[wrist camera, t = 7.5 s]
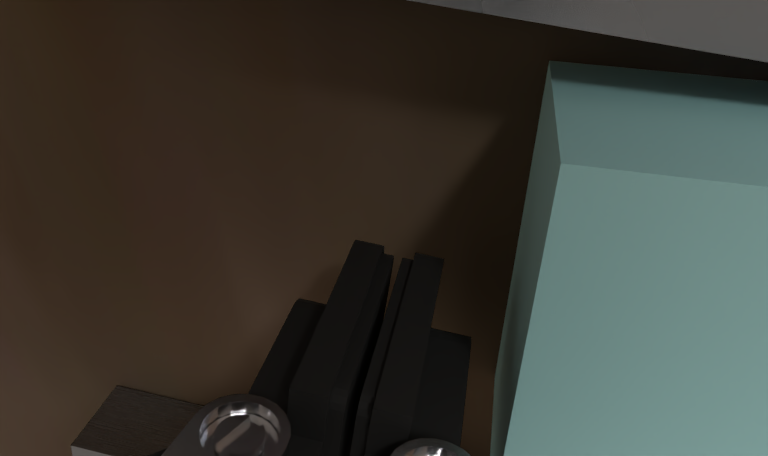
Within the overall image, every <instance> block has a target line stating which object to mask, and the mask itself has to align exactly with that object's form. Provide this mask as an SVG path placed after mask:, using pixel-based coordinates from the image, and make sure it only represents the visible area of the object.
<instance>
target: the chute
mask: <svg viewBox="0 0 768 456" xmlns="http://www.w3.org/2000/svg"><path fill="white" fill-rule="evenodd" d="M408 1H414V2H420V3H426V4H432V5H438V6H443V7H449V8H455V9H461V10H467V11H472V12H478V13H484V14H490V15H496V16H501V17H507V18H513V19H519V20H525V21H530V22H536V23H542V24H548V25H554V26H559V27H565V28H571V29H577V30H583V31H589V32H594V33H600V34H606V35H612V36H618V37H623V38H629V39H635V40H641V41H647V42H652V43H658V44H664V45H670V46H676V47H681V48H687V49H693V50H699V51H705V52H710V53H716V54H722V55H728V56H734V57H740V58H745V59H751V60H757V61H763V62H768V0H408ZM203 407H204V406H200V405H196V404H192V403H188V402H184V401H179V400H175V399H171V398H167V397H163V396H158V395H154V394H150V393H146V392H142V391H137V390H133V389H129V388H125V387H121V386H116V387H115V388H114V390H113V391H112V392H111V394H110V395H109V396H108V398H107V399H106V400H105V401H104V403H103V404H102V405H101V407H100V408H99V409H98V411H97V412H96V413H95V415H94V416H93V417H92V418H91V420H90V421H89V422H88V424H87V425H86V426H85V428H84V429H83V430H82V431H81V433H80V434H79V435H78V437H77V438H76V439H75V441H74V442H73V443H72V444H71V450H72V456H147V455H150V454H153V453H155V452H158V451H161V450H163V449H166V448H168V447H169V445H170V444H171V443H172V442H173V441H174V439H175V438H176V437H177V436H178V435H179V433H180V432H181V431H182V430H183V429H184V427H185V426H186V425H187V424H188V423H189V421H190V420H191V419H192V418H193V417H194V415H195V414H196V413H197V412H198V411H199V410H201V409H202V408H203Z"/></svg>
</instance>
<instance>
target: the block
mask: <svg viewBox="0 0 768 456" xmlns="http://www.w3.org/2000/svg"><path fill="white" fill-rule="evenodd" d="M490 456H768V81H761V80H751V79H740V78H729V77H719V76H708V75H697V74H687V73H676V72H666V71H655V70H644V69H634V68H623V67H613V66H602V65H591V64H581V63H570V62H560V61H549V65H548V70H547V76H546V82H545V88H544V94H543V99H542V105H541V111H540V117H539V123H538V129H537V134H536V140H535V146H534V152H533V158H532V163H531V169H530V175H529V181H528V187H527V192H526V198H525V204H524V210H523V216H522V221H521V227H520V233H519V239H518V245H517V250H516V256H515V262H514V268H513V274H512V279H511V285H510V291H509V297H508V303H507V308H506V314H505V320H504V326H503V332H502V337H501V343H500V349H499V355H498V361H497V366H496V372H495V382H494V399H493V416H492V432H491V449H490Z"/></svg>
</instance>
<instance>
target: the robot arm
mask: <svg viewBox="0 0 768 456" xmlns="http://www.w3.org/2000/svg"><path fill="white" fill-rule="evenodd" d="M393 260H394V256H392V255H387V254H384V246H382V245H378V244H373V243H368V242H364V241H359V240H355V242H354V243H353V246H352V248H351V250H350V252H349V255H348V257H347V259H346V262H345V264H344V266H343V268H342V271H341V273H340V275H339V277H338V280H337V282H336V284H335V286H334V289H333V291H332V293H331V295H330V298H329V300H328V302H327V304H322V303H317V302H313V301H308V300H304V299H298V300H297V301H296V302H295V304H294V306H293V308H292V310H291V311H290V313H289V315H288V317H287V319H286V321H285V323H284V325H283V327H282V329H281V331H280V333H279V335H278V337H277V339H276V341H275V342H274V344H273V346H272V348H271V350H270V352H269V354H268V356H267V358H266V360H265V362H264V364H263V366H262V368H261V370H260V372H259V374H258V375H257V377H256V379H255V381H254V383H253V385H252V387H251V389H250V391H249V393H248V394H233V395H229V396H224V397H220V398H218V399H216V400H214V401H212V402H210V403H208V404H206V405H205V406H204V407H203V408H202V409H201V410H199V411H198V412H197V413H196V414H195V415H194V417H193V418H192V419H191V420H190V421H189V423H188V424H187V425H186V426H185V427H184V429H183V430H182V431H181V432H180V433H179V435H178V436H177V437H176V438H175V439H174V441H173V442H172V443H171V444H170V445H169V447H168V448H166V449H163V450H161V451H158V452H155V453H153V454H150V455H147V456H471V455H470V454H468V453H467V452H466V451H465V450H464V449H462V448H460V442H461V433H462V424H463V415H464V405H465V396H466V387H467V377H468V368H469V359H470V350H471V337H468V336H464V335H459V334H455V333H450V332H446V331H442V330H437V329H433V328H431V323H432V318H433V313H434V308H435V303H436V298H437V293H438V288H439V283H440V278H441V273H442V268H443V263H444V259H443V258H438V257H434V256H429V255H424V254H420V253H415V256H414V260H410V259H406V258H402V261H401V264H400V268H399V271H398V274H397V278H396V281H395V284H394V287H393V291H392V294H391V297H390V301H389V304H388V307H387V310H386V314H385V317H384V313H385V307H386V302H387V296H388V290H389V284H390V278H391V272H392V266H393ZM383 319H384V320H383Z"/></svg>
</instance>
